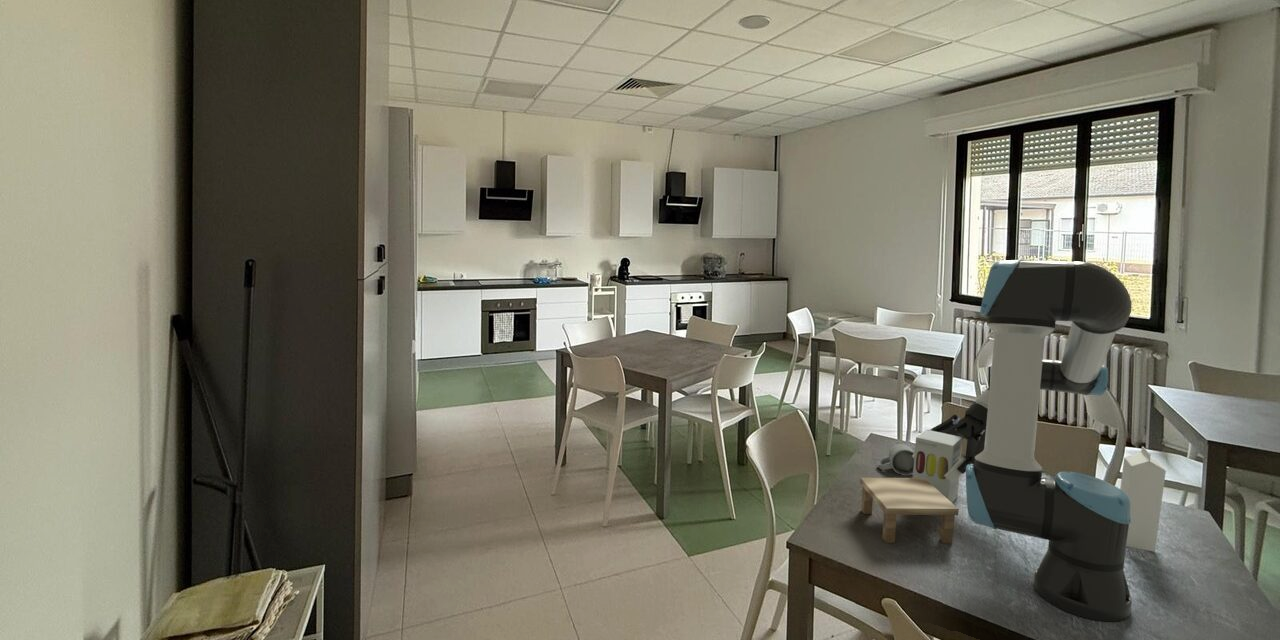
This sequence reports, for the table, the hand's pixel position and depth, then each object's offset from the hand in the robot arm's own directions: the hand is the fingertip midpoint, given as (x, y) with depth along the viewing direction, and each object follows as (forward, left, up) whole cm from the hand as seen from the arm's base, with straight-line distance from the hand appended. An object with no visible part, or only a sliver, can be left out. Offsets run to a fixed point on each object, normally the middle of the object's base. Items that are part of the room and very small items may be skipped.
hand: (930, 469), depth 158 cm
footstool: (-16, +13, -8) cm, 22 cm away
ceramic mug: (+19, +1, -8) cm, 20 cm away
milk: (-23, -36, -8) cm, 43 cm away
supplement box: (0, -2, -8) cm, 8 cm away
